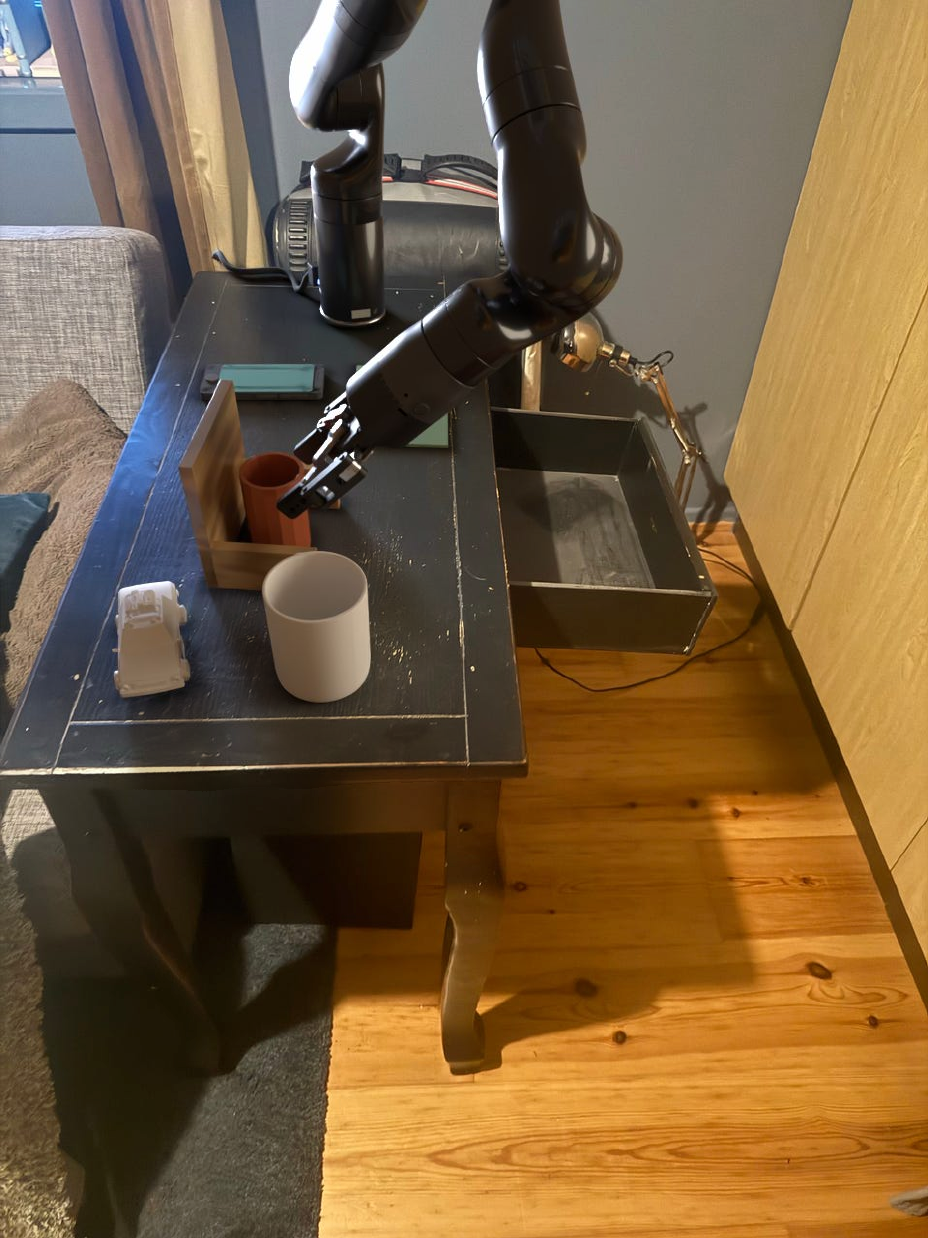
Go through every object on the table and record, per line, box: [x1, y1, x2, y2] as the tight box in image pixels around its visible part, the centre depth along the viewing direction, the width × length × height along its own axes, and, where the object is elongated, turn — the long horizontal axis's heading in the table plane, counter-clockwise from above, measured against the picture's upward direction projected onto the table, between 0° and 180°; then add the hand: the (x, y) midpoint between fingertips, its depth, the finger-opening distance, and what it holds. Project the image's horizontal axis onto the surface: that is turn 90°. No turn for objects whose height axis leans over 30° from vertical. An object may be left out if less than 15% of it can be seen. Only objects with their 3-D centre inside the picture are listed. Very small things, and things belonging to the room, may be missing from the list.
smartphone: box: [199, 363, 325, 401], centre depth 104 cm, size 7×1×15 cm
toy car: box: [111, 580, 191, 698], centre depth 70 cm, size 6×12×7 cm, turn 16°
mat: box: [355, 364, 449, 449], centre depth 103 cm, size 18×12×1 cm, turn 1°
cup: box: [239, 451, 312, 547], centre depth 81 cm, size 6×6×9 cm
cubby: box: [178, 380, 341, 592], centre depth 79 cm, size 11×14×14 cm
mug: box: [261, 550, 372, 704], centre depth 70 cm, size 12×8×10 cm
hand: (292, 483), depth 78 cm, fingers open, 8 cm apart
